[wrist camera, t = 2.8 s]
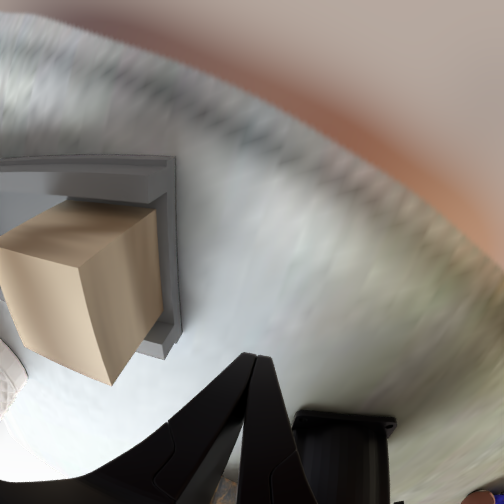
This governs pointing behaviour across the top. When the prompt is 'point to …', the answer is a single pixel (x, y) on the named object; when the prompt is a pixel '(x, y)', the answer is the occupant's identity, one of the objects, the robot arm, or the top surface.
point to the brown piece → (225, 492)
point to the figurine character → (484, 498)
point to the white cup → (10, 378)
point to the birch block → (84, 284)
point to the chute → (108, 192)
